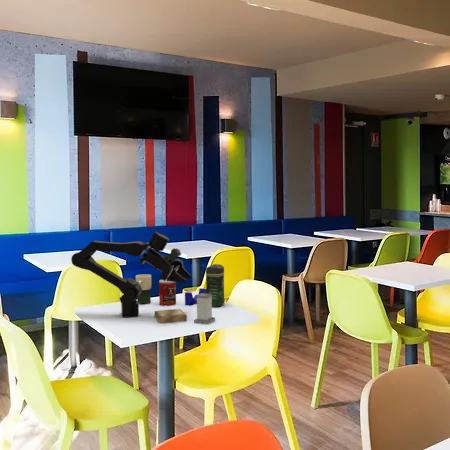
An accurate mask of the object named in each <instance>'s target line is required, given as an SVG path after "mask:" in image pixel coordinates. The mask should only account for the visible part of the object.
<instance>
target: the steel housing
mask: <svg viewBox="0 0 450 450" xmlns="http://www.w3.org/2000/svg"><path fill="white" fill-rule="evenodd" d="M198 294H199V293H198ZM198 294H196V295H197V304H196V318H195V319H193V324H200V323H206V324H205V325H210V324H211V322H212V323H214V322H215V321H216V317H214V316H213V307H212V294H205V293H201V294H199V295H198ZM209 323H210V324H209Z"/></svg>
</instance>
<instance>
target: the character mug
mask: <svg viewBox="0 0 450 450" xmlns="http://www.w3.org/2000/svg"><path fill="white" fill-rule="evenodd" d="M135 281H137V282H139V283H138V284H140V285H141V288H142V292H141V294H140V295H139V296H138V297H137V299H136V300H137V303H138V304H140V303H143V304H144V303H145V304H146V303H148V304H149V303H151V302H152V301H151V299H152V298H151V294H150V290H151V289H152V274H141V273H140V274H137V275H135Z"/></svg>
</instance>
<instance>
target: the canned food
mask: <svg viewBox="0 0 450 450" xmlns="http://www.w3.org/2000/svg"><path fill="white" fill-rule="evenodd" d="M158 292H159V293H158V297H159V299H158V300H159V305H160V306H163V305H164V307H165V306H166V307H168V306H174V305H176V303H177V282H172V281H167V280H166V281H164V280H162V279H160V280H159V281H158Z"/></svg>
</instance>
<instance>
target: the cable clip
mask: <svg viewBox="0 0 450 450" xmlns="http://www.w3.org/2000/svg"><path fill="white" fill-rule="evenodd" d="M201 293H205V294H206V288H203V287H202V288H199V289H198V293H197V294H195V295H194V297H193V292H189V291H185V292H184V305H185V306H188V305H189V306H190V307H191V306H195V305H197V295H199V294H201ZM194 304H195V305H194ZM189 306H188V307H189Z"/></svg>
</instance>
